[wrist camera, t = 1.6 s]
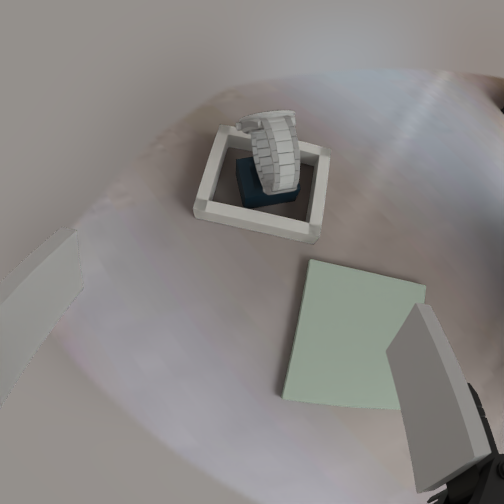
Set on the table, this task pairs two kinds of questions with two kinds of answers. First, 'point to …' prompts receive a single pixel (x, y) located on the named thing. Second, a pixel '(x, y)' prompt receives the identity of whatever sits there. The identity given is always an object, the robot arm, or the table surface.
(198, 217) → the dock
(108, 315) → the table surface
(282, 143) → the watch
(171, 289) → the table surface
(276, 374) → the table surface
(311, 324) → the mat
